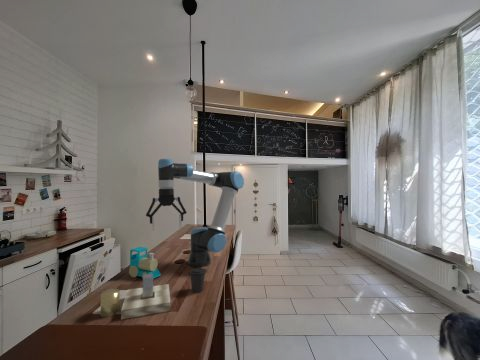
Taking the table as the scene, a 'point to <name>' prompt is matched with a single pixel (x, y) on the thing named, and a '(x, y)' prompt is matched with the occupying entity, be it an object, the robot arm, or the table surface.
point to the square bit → (147, 286)
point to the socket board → (145, 302)
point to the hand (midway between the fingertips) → (167, 228)
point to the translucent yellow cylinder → (109, 302)
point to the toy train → (142, 264)
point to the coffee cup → (197, 279)
